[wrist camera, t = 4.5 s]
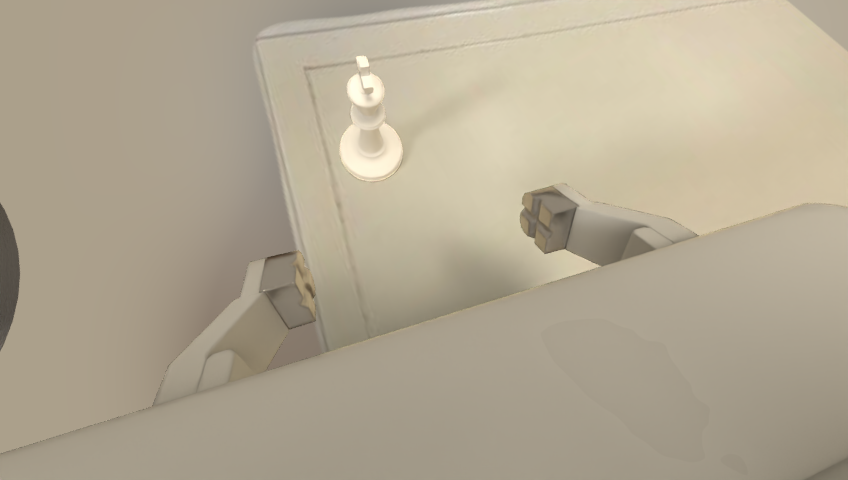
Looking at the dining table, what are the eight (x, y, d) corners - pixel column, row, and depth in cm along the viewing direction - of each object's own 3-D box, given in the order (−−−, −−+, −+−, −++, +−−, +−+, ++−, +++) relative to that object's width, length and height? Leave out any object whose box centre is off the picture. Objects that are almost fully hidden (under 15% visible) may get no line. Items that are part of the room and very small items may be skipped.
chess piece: (347, 187, 23) (321, 120, 13) (333, 128, 24) (298, 22, 14) (409, 174, 24) (427, 102, 14) (394, 117, 25) (401, 9, 15)
